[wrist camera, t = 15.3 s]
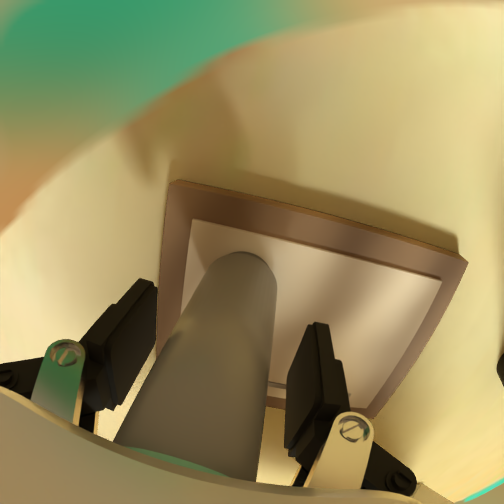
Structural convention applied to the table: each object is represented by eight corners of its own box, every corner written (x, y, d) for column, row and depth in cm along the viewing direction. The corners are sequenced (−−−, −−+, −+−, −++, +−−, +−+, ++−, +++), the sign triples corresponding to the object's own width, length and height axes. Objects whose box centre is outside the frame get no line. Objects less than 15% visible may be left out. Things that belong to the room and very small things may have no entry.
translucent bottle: (287, 254, 14) (264, 567, 2) (269, 316, 16) (229, 572, 4) (213, 236, 15) (49, 497, 3) (203, 299, 16) (95, 531, 4)
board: (459, 254, 15) (471, 264, 13) (371, 407, 20) (374, 421, 19) (177, 179, 15) (167, 184, 14) (161, 367, 21) (155, 381, 19)
